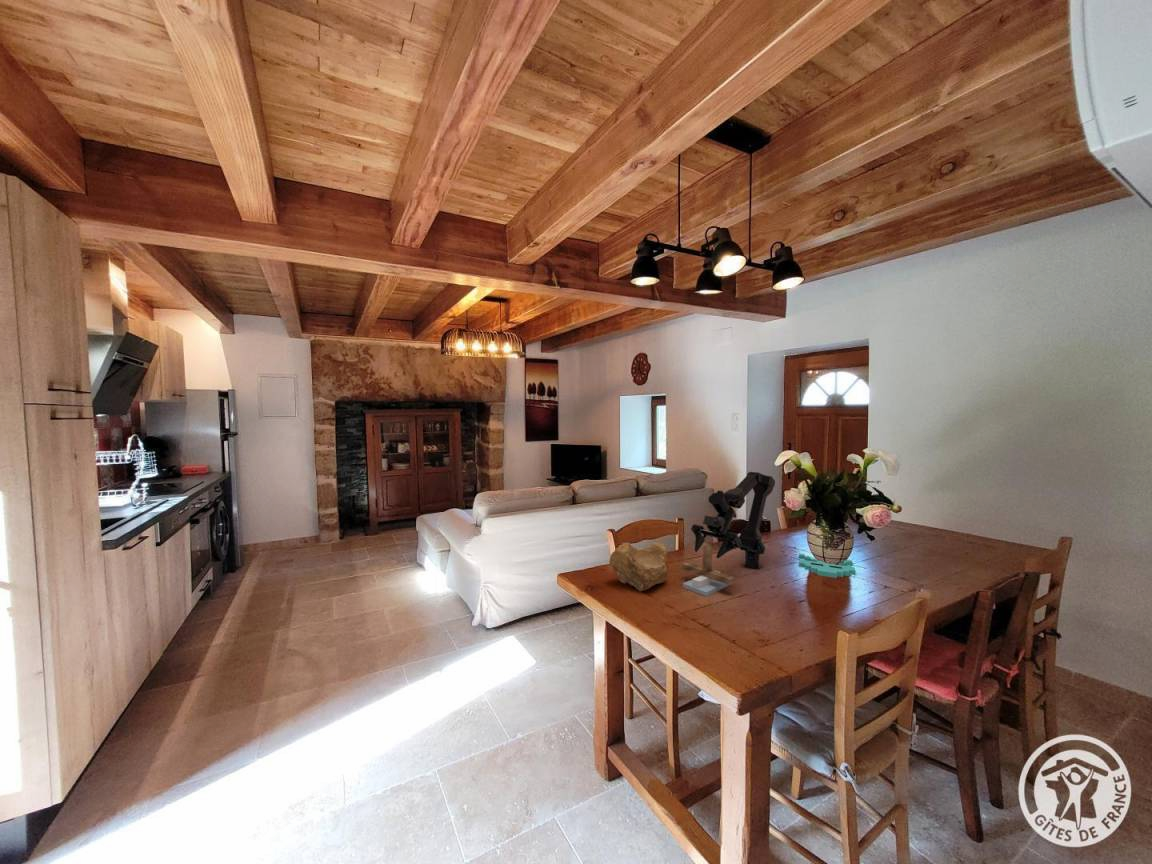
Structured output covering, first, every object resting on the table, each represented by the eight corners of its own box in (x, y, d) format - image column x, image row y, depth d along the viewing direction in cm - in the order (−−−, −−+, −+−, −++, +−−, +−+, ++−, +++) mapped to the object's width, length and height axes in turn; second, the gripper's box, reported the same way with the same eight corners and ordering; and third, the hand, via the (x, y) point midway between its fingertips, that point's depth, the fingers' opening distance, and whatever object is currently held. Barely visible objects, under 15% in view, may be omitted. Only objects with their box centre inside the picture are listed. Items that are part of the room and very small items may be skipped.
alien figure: (798, 558, 191) (798, 573, 173) (798, 553, 191) (798, 567, 173) (851, 565, 182) (857, 582, 164) (852, 560, 182) (857, 576, 164)
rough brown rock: (622, 600, 149) (625, 559, 148) (604, 578, 165) (607, 541, 163) (680, 593, 157) (684, 554, 155) (658, 573, 172) (661, 537, 170)
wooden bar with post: (682, 568, 166) (682, 538, 165) (687, 567, 168) (687, 536, 167) (729, 585, 150) (729, 551, 150) (734, 582, 152) (734, 549, 152)
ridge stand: (707, 576, 168) (707, 566, 168) (730, 584, 160) (730, 574, 160) (682, 587, 158) (682, 576, 158) (706, 596, 150) (706, 585, 150)
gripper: (693, 503, 168) (676, 536, 161) (737, 512, 154) (720, 548, 147) (705, 520, 173) (688, 552, 167) (748, 529, 159) (732, 565, 152)
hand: (706, 554), depth 158 cm, fingers open, 9 cm apart
